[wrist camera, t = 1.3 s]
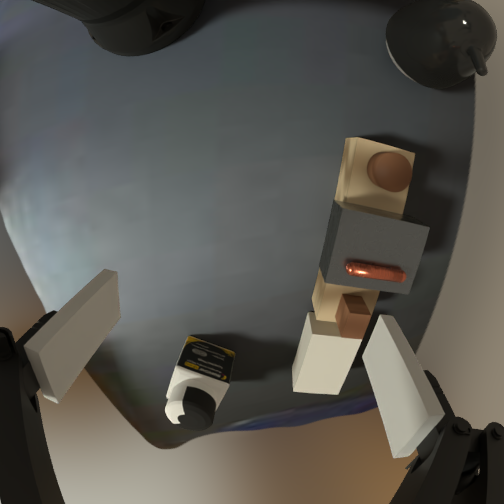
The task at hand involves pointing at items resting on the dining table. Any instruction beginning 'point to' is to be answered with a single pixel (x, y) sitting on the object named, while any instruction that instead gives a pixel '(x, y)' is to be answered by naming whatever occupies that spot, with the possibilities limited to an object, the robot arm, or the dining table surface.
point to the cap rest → (322, 357)
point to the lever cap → (372, 248)
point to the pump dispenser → (441, 41)
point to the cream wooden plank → (371, 195)
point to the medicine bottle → (198, 384)
